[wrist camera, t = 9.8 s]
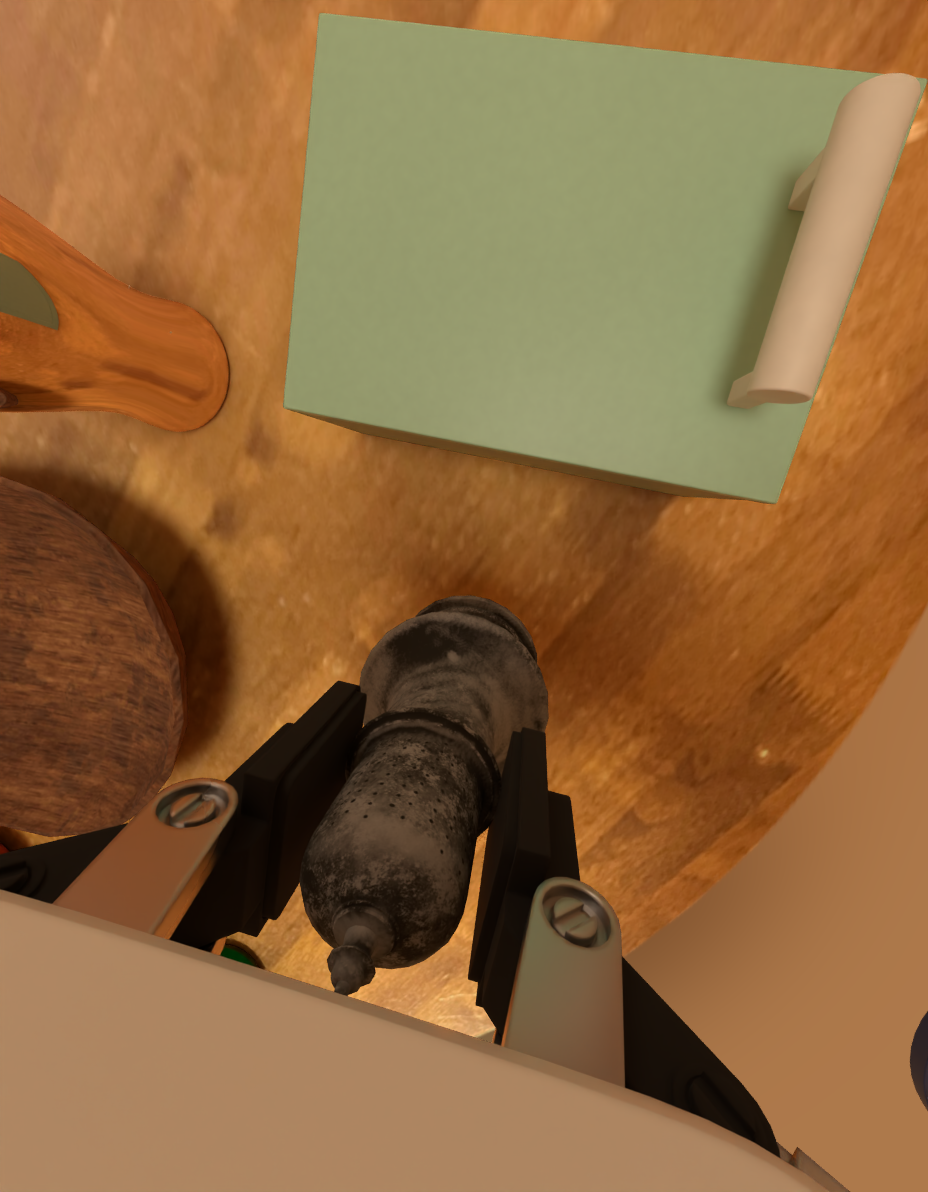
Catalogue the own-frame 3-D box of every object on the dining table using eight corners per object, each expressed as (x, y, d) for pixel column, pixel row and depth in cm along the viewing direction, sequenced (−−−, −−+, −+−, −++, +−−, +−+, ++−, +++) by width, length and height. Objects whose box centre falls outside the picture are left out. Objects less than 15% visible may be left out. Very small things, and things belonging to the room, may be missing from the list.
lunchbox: (763, 235, 19) (884, 102, 12) (683, 496, 22) (747, 500, 15) (395, 182, 20) (330, 39, 14) (362, 433, 23) (294, 411, 17)
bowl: (228, 820, 30) (169, 884, 25) (-72, 729, 32) (-180, 773, 27) (259, 514, 25) (193, 520, 20) (-98, 429, 27) (-236, 416, 22)
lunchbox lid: (905, 102, 12) (1073, -72, 9) (764, 503, 15) (844, 508, 11) (330, 37, 14) (252, -136, 10) (293, 411, 17) (221, 388, 13)
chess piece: (487, 762, 18) (408, 1223, 7) (364, 677, 18) (77, 998, 7) (578, 648, 17) (675, 995, 5) (444, 555, 17) (249, 703, 5)
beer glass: (208, 466, 25) (-255, 435, 10) (96, 397, 25) (-523, 268, 10) (259, 338, 23) (-215, 78, 8) (138, 264, 23) (-542, -122, 8)
